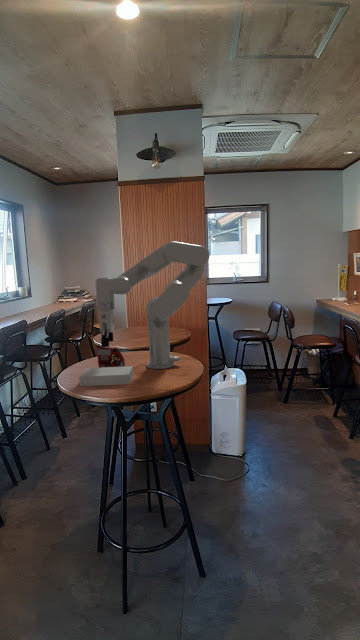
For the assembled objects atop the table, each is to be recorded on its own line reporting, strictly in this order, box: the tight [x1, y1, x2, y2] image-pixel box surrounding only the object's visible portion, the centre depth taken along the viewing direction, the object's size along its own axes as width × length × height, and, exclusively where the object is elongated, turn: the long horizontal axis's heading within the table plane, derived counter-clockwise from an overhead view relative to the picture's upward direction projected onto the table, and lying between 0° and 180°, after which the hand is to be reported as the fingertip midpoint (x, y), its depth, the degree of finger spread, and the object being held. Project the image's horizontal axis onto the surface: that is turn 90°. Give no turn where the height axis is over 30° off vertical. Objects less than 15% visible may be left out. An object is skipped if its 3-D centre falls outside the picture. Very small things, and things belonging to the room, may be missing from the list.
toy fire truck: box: [95, 347, 126, 368], centre depth 166 cm, size 7×12×10 cm, turn 82°
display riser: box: [78, 365, 134, 387], centre depth 153 cm, size 20×11×4 cm, turn 90°
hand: (107, 343), depth 165 cm, fingers open, 9 cm apart
